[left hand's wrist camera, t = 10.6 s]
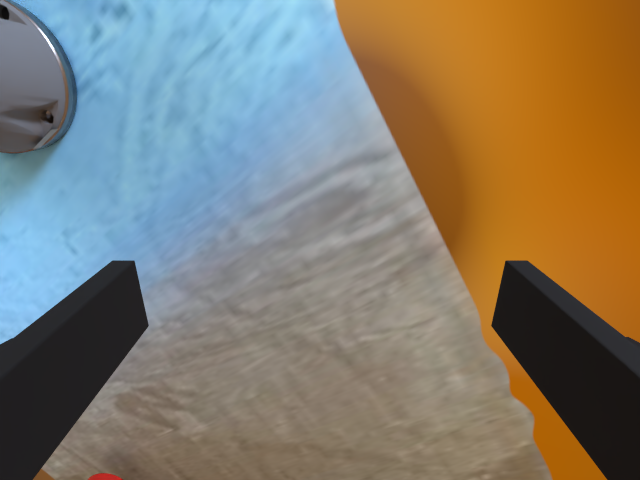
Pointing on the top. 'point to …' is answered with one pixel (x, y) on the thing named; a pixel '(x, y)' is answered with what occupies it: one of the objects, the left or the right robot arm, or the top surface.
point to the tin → (104, 477)
